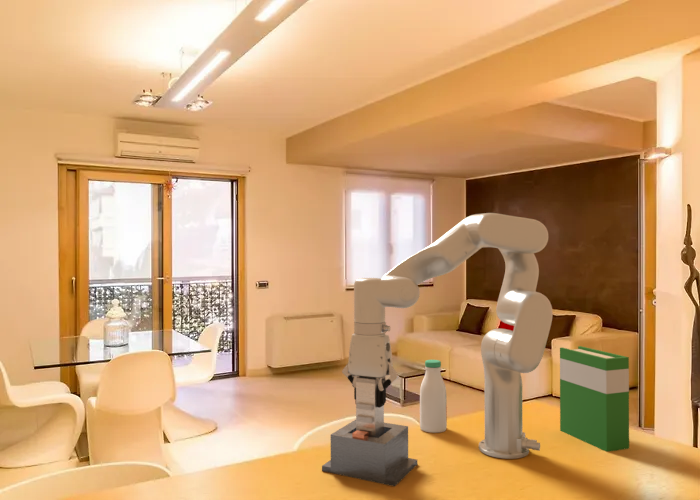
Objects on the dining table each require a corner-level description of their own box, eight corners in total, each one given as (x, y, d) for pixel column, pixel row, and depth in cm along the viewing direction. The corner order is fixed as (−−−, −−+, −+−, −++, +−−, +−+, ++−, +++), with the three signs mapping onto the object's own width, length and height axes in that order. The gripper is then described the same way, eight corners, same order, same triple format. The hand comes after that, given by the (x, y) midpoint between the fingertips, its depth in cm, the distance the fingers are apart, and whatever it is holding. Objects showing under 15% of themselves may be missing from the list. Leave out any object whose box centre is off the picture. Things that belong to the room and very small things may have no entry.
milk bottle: (446, 434, 157) (445, 363, 157) (418, 432, 159) (418, 363, 159) (447, 425, 165) (446, 358, 165) (421, 424, 166) (420, 357, 166)
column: (384, 465, 134) (383, 375, 134) (373, 474, 129) (373, 380, 129) (365, 462, 137) (365, 373, 137) (354, 470, 132) (354, 378, 132)
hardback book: (560, 430, 160) (559, 347, 160) (581, 427, 162) (580, 346, 162) (606, 451, 143) (606, 359, 143) (629, 448, 145) (628, 357, 145)
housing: (417, 464, 135) (417, 423, 135) (394, 486, 123) (394, 441, 123) (349, 451, 144) (349, 413, 144) (321, 470, 132) (321, 428, 132)
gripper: (408, 329, 133) (408, 405, 133) (345, 325, 141) (346, 396, 141) (396, 333, 126) (396, 413, 126) (331, 329, 134) (331, 404, 134)
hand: (370, 403), depth 133 cm, fingers closed on column, 5 cm apart
